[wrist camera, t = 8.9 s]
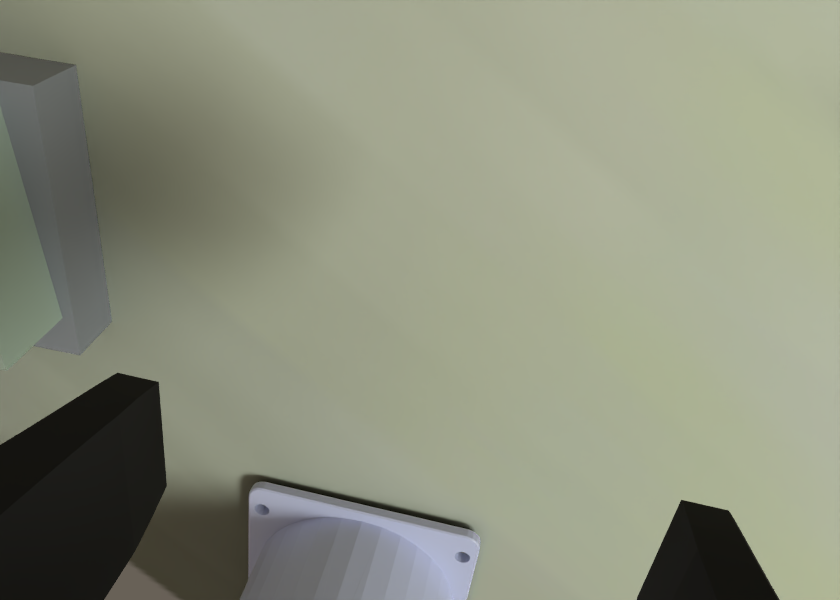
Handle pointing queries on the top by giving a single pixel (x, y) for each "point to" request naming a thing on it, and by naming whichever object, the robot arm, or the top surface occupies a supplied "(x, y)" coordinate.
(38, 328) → the top tile
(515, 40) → the top surface
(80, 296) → the base tile
